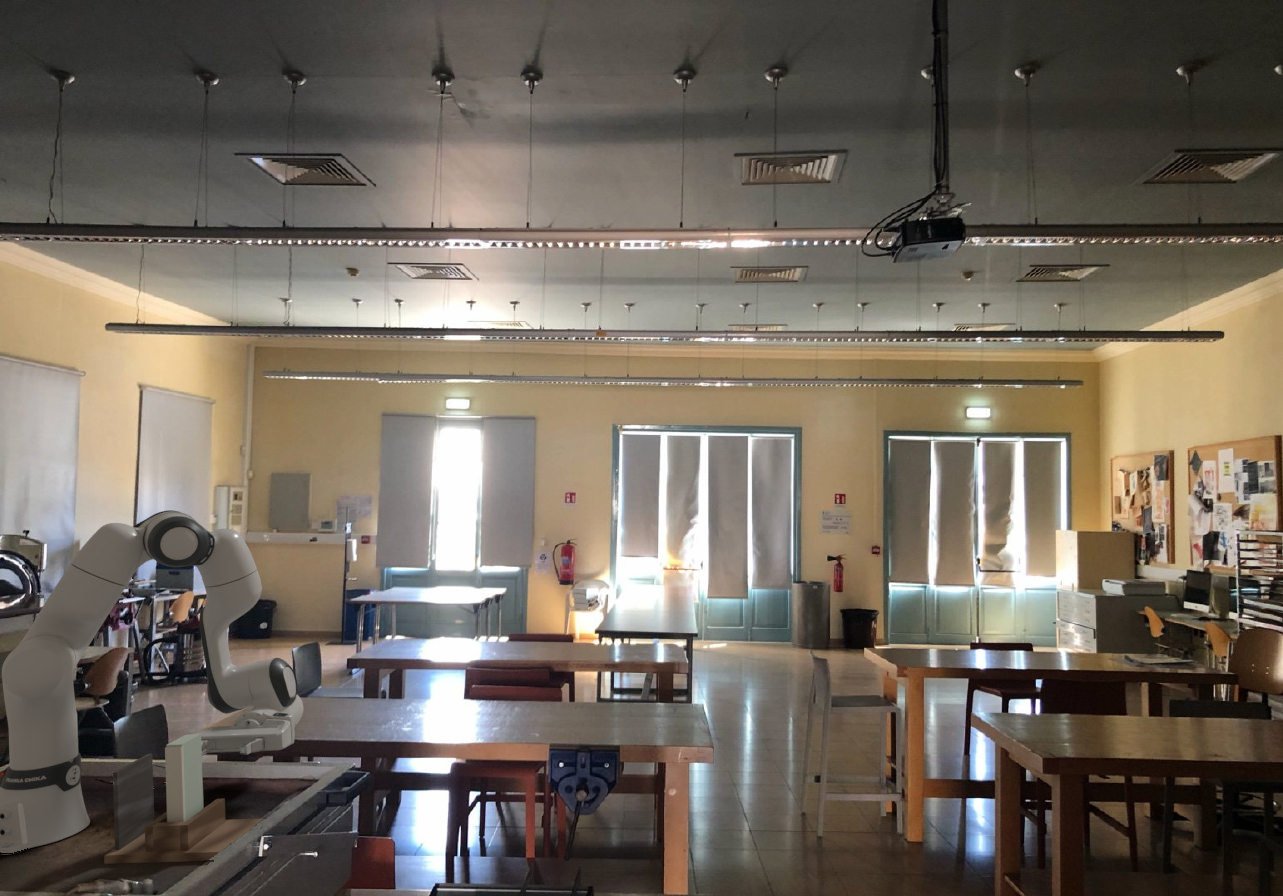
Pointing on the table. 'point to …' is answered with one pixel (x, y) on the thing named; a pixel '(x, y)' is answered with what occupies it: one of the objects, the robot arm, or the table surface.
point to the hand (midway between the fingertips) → (220, 751)
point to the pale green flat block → (184, 778)
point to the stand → (164, 823)
